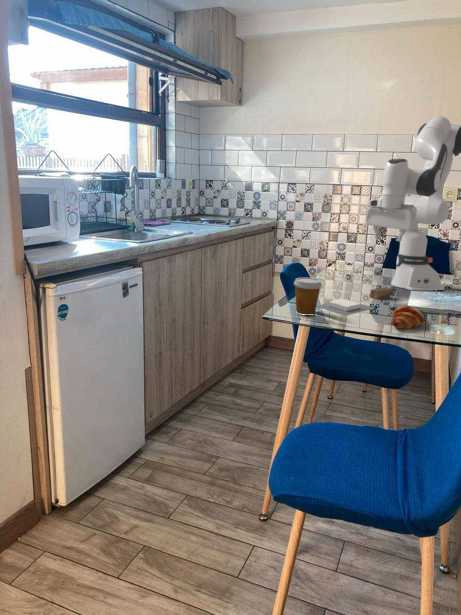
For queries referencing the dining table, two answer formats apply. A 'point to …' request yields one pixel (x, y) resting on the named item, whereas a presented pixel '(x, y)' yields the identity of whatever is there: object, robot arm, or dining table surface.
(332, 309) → the slate board
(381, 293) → the wooden handled scraper
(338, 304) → the tile
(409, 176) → the robot arm
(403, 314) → the croissant
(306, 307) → the disposable coffee cup
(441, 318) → the dining table surface
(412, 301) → the dining table surface
